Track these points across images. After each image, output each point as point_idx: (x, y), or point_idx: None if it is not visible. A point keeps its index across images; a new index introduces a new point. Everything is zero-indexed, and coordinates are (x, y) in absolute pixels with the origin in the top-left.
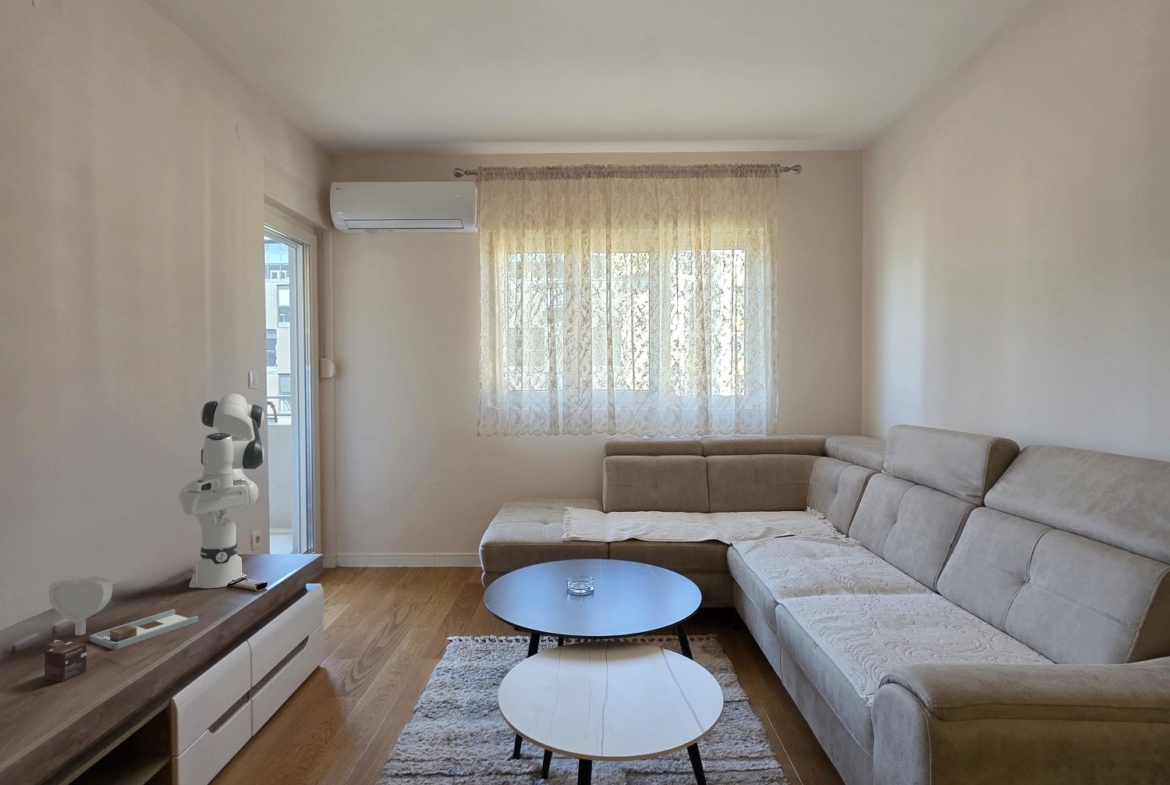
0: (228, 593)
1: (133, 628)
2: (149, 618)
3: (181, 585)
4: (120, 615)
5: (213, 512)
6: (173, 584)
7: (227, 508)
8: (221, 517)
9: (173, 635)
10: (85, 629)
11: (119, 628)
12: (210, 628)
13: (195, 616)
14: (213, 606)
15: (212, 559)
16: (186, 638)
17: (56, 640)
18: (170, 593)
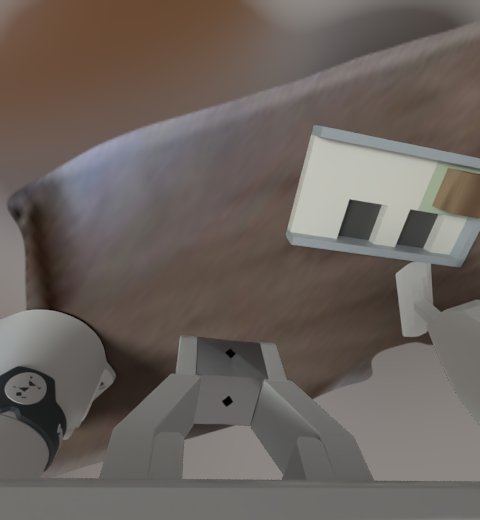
0: (93, 263)
1: (475, 176)
2: (352, 244)
3: (113, 401)
4: (298, 348)
5: (343, 472)
6: (117, 418)
7: (108, 484)
8: (197, 385)
9: (378, 133)
10: (421, 308)
11: (474, 210)
12: (320, 72)
13: (324, 135)
14: (186, 215)
15: (54, 397)
16: (392, 76)
17: (426, 329)
18: (162, 377)
